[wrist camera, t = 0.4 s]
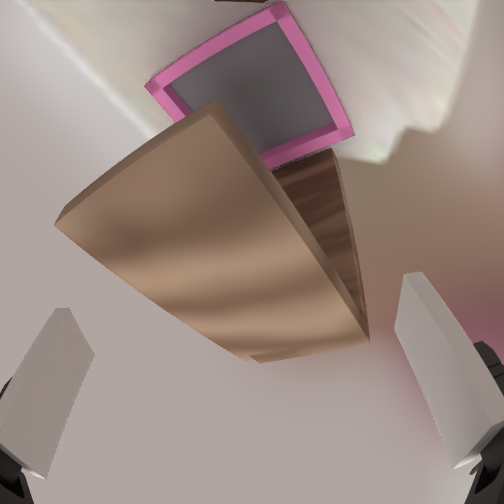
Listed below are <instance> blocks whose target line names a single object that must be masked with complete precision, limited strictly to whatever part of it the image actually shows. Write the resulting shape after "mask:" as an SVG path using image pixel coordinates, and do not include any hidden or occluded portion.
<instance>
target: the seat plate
mask: <svg viewBox="0 0 504 504" xmlns="http://www.w3.org/2000/svg"><path fill="white" fill-rule="evenodd" d="M144 87H145V88H146V89H147V90H148V91H149V92H150V94H151V95H152V96H153V97H154V98H155V99H156V101H157V102H158V103H159V104H160V105H161V106H162V108H163V109H164V110H165V111H166V112H167V113H168V115H169V116H170V117H171V118H172V119H173V120H174V122H175V123H176V122H178V121H179V120H181V119H183V118H184V117H186V116H187V115H189V114H191V113H192V112H194V111H195V110H197V109H199V108H200V107H202V106H204V105H206V104H207V103H209V102H211V101H212V100H214V99H216V98H218V99H219V101H220V102H221V103H222V105H223V106H224V107H225V109H226V110H227V111H228V113H229V114H230V115H231V117H232V118H233V119H234V121H235V122H236V124H237V125H238V126H239V128H240V129H241V130H242V132H243V133H244V134H245V136H246V137H247V139H248V140H249V141H250V143H251V144H252V146H253V147H254V148H255V150H256V151H257V153H258V154H259V155H260V157H261V158H262V160H263V161H264V163H265V164H266V165H267V167H268V168H269V170H270V169H272V168H275V167H277V166H279V165H282V164H284V163H287V162H289V161H291V160H294V159H296V158H299V157H301V156H304V155H306V154H308V153H311V152H313V151H316V150H318V149H321V148H323V147H326V146H329V145H331V144H334V143H336V142H339V141H341V140H344V139H347V138H349V137H352V136H355V134H354V132H353V129H352V127H351V124H350V122H349V120H348V118H347V116H346V114H345V112H344V109H343V107H342V105H341V103H340V101H339V99H338V97H337V95H336V93H335V91H334V89H333V87H332V85H331V83H330V81H329V79H328V77H327V76H326V74H325V72H324V70H323V68H322V66H321V64H320V63H319V61H318V59H317V57H316V55H315V54H314V52H313V50H312V48H311V47H310V45H309V43H308V41H307V40H306V38H305V36H304V35H303V33H302V31H301V30H300V28H299V26H298V25H297V23H296V22H295V20H294V18H293V17H292V15H291V14H290V12H289V11H288V9H287V7H286V6H285V4H284V3H283V1H280V2H278V3H276V4H274V5H272V6H269V7H267V8H265V9H263V10H261V11H259V12H257V13H255V14H253V15H251V16H249V17H248V18H246V19H244V20H242V21H240V22H238V23H236V24H235V25H233V26H231V27H229V28H227V29H226V30H224V31H222V32H221V33H219V34H217V35H215V36H214V37H212V38H210V39H209V40H207V41H206V42H204V43H202V44H201V45H199V46H198V47H196V48H194V49H193V50H191V51H190V52H188V53H187V54H185V55H184V56H182V57H181V58H179V59H178V60H176V61H175V62H174V63H172V64H171V65H169V66H168V67H166V68H165V69H164V70H162V71H161V72H160V73H158V74H157V75H155V76H154V77H153V78H151V79H150V80H149V81H148V82H147V83H146V84H145V86H144Z"/></svg>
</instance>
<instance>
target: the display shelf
mask: <svg viewBox="0 0 504 504" xmlns="http://www.w3.org/2000/svg"><path fill="white" fill-rule="evenodd" d="M54 226H55V227H57V228H58V229H59V230H60V231H61V232H63V233H64V234H65V235H66V236H67V237H69V238H70V239H71V240H72V241H73V242H75V243H76V244H77V245H78V246H80V247H81V248H82V249H83V250H84V251H86V252H87V253H88V254H90V255H91V256H92V257H93V258H95V259H96V260H97V261H98V262H100V263H101V264H102V265H104V266H105V267H106V268H108V269H109V270H110V271H112V272H113V273H114V274H116V275H117V276H118V277H120V278H121V279H122V280H124V281H125V282H126V283H128V284H129V285H130V286H132V287H133V288H134V289H136V290H137V291H139V292H140V293H141V294H143V295H144V296H146V297H147V298H148V299H150V300H151V301H153V302H154V303H156V304H157V305H159V306H160V307H161V308H163V309H164V310H166V311H167V312H169V313H170V314H172V315H173V316H175V317H176V318H178V319H179V320H181V321H182V322H184V323H185V324H187V325H188V326H190V327H191V328H193V329H194V330H196V331H197V332H199V333H201V334H202V335H204V336H205V337H207V338H208V339H210V340H212V341H213V342H215V343H216V344H218V345H219V346H221V347H223V348H224V349H226V350H228V351H229V352H231V353H233V354H234V355H236V356H237V357H239V358H241V359H243V360H245V361H247V360H256V361H258V362H259V363H264V362H271V361H277V360H283V359H289V358H295V357H301V356H307V355H312V354H317V353H322V352H328V351H333V350H337V349H343V348H347V347H351V346H356V345H361V344H365V343H369V342H370V335H369V328H368V319H367V311H366V304H365V297H364V290H363V284H362V277H361V272H360V265H359V259H358V254H357V248H356V243H355V238H354V232H353V227H352V223H351V218H350V213H349V208H348V204H347V199H346V195H345V190H344V186H343V181H342V177H341V173H340V169H339V165H338V161H337V158H336V156H335V154H334V152H333V150H332V148H330V149H327V150H324V151H322V152H319V153H317V154H314V155H312V156H309V157H307V158H304V159H302V160H300V161H297V162H295V163H292V164H290V165H287V166H285V167H283V168H280V169H278V170H275V171H273V172H271V171H270V170H269V168H268V167H267V165H266V164H265V163H264V161H263V160H262V158H261V157H260V155H259V154H258V153H257V151H256V150H255V148H254V147H253V146H252V144H251V143H250V141H249V140H248V139H247V137H246V136H245V134H244V133H243V132H242V130H241V129H240V128H239V126H238V125H237V124H236V122H235V121H234V119H233V118H232V117H231V115H230V114H229V113H228V111H227V110H226V109H225V107H224V106H223V105H222V103H221V102H220V101H219V99H218V98H216V99H214V100H212V101H211V102H209V103H207V104H206V105H204V106H202V107H200V108H199V109H197V110H195V111H194V112H192V113H191V114H189V115H187V116H186V117H184V118H183V119H181V120H179V121H178V122H176V123H175V124H173V125H172V126H170V127H169V128H167V129H165V130H164V131H162V132H161V133H159V134H158V135H156V136H155V137H154V138H152V139H151V140H149V141H148V142H146V143H145V144H143V145H142V146H141V147H139V148H138V149H137V150H135V151H134V152H132V153H131V154H129V155H128V156H127V157H125V158H124V159H123V160H121V161H120V162H119V163H117V164H116V165H115V166H113V167H112V168H111V169H110V170H108V171H107V172H106V173H104V174H103V175H102V176H100V177H99V178H98V179H97V180H95V181H94V182H93V183H92V184H90V185H89V186H88V187H87V188H86V189H84V190H83V191H82V192H81V193H80V194H79V195H77V196H76V197H75V198H74V199H73V200H71V201H70V202H69V203H68V204H67V205H66V206H65V207H64V209H63V210H62V212H61V213H60V215H59V217H58V218H57V220H56V222H55V224H54Z"/></svg>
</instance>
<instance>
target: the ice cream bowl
mask: <svg viewBox="0 0 504 504" xmlns="http://www.w3.org/2000/svg"><path fill="white" fill-rule="evenodd" d="M214 1H233V2H258V3H264V2H266V1H268V0H214Z"/></svg>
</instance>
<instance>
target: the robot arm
mask: <svg viewBox="0 0 504 504" xmlns="http://www.w3.org/2000/svg"><path fill="white" fill-rule="evenodd" d="M394 331H395V333H396V335H397V337H398V339H399V341H400V343H401V345H402V347H403V350H404V352H405V354H406V356H407V358H408V361H409V363H410V365H411V367H412V369H413V372H414V374H415V376H416V378H417V380H418V383H419V385H420V388H421V390H422V392H423V395H424V397H425V400H426V402H427V404H428V407H429V409H430V412H431V414H432V417H433V419H434V422H435V424H436V427H437V430H438V432H439V435H440V438H441V440H442V443H443V445H444V448H445V451H446V454H447V457H448V460H449V463H450V465H451V468H452V470H453V469H455V468H457V467H460V466H462V465H465V464H467V463H469V462H471V461H473V460H474V459H475V458H476V457H477V456H478V455H479V453H480V454H481V457H482V460H481V461H480V462H479V463H478V464H477V465H476V466H475V467H474V468H473V469H472V471H471V472H470V475H472V474H474V473H475V472H476V471H477V473H476V476H475V479H474V481H473V484H472V486H471V489H470V491H469V494H468V497H467V499H466V501H465V503H464V504H504V366H503V364H501V361H500V359H499V358H498V356H497V355H496V353H495V352H494V350H493V349H492V348H490V347H489V346H488V345H487V344H485V343H484V342H483V341H480V342H477V343H474V344H472V342H471V341H470V339H469V338H468V336H467V335H466V333H465V332H464V330H463V329H462V327H461V326H460V324H459V323H458V321H457V320H456V318H455V317H454V315H453V314H452V312H451V311H450V310H449V308H448V307H447V305H446V304H445V303H444V301H443V300H442V298H441V297H440V296H439V294H438V293H437V291H436V290H435V289H434V287H433V286H432V285H431V283H430V282H429V281H428V279H427V278H426V277H425V275H424V274H423V273H422V272H415V273H409V274H404V277H403V283H402V289H401V295H400V301H399V306H398V312H397V317H396V322H395V327H394ZM94 355H95V354H94V352H93V351H92V349H91V347H90V346H89V344H88V342H87V340H86V339H85V337H84V335H83V333H82V331H81V330H80V328H79V326H78V324H77V322H76V320H75V318H74V317H73V315H72V313H71V311H70V309H69V308H56V309H55V310H54V312H53V313H52V315H51V316H50V318H49V319H48V321H47V322H46V324H45V325H44V327H43V329H42V330H41V331H40V333H39V334H38V336H37V338H36V339H35V341H34V342H33V344H32V346H31V347H30V349H29V350H28V352H27V354H26V355H25V357H24V359H23V361H22V362H21V364H20V366H19V367H18V369H17V370H16V372H15V374H14V376H13V377H12V378H11V379H10V380H9V381H8V382H7V383H6V384H5V385H4V387H3V389H2V391H1V393H0V504H34V502H33V499H32V497H31V493H30V490H29V487H28V484H27V481H26V478H25V475H24V474H23V473H22V472H21V469H22V467H23V468H24V469H26V470H27V471H28V472H30V473H31V474H32V475H35V476H38V477H41V478H43V479H46V478H47V475H48V472H49V469H50V466H51V463H52V460H53V457H54V454H55V452H56V449H57V446H58V443H59V440H60V438H61V435H62V432H63V430H64V427H65V424H66V422H67V419H68V417H69V414H70V411H71V409H72V406H73V404H74V401H75V399H76V397H77V394H78V392H79V389H80V387H81V385H82V382H83V380H84V378H85V375H86V373H87V371H88V369H89V366H90V364H91V362H92V360H93V358H94Z"/></svg>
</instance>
